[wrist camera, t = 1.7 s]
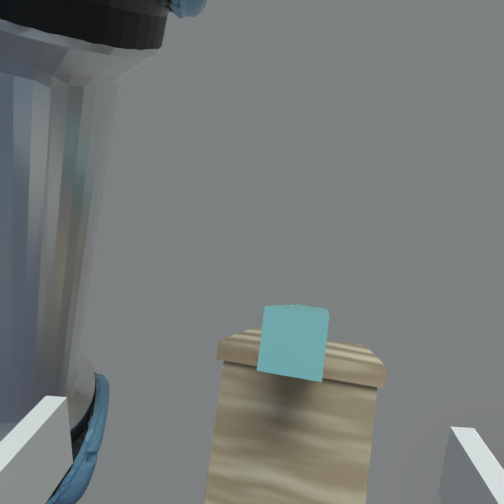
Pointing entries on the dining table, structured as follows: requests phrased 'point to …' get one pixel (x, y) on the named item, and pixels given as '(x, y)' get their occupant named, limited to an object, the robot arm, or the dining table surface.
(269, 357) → the bar
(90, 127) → the robot arm
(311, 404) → the stand
